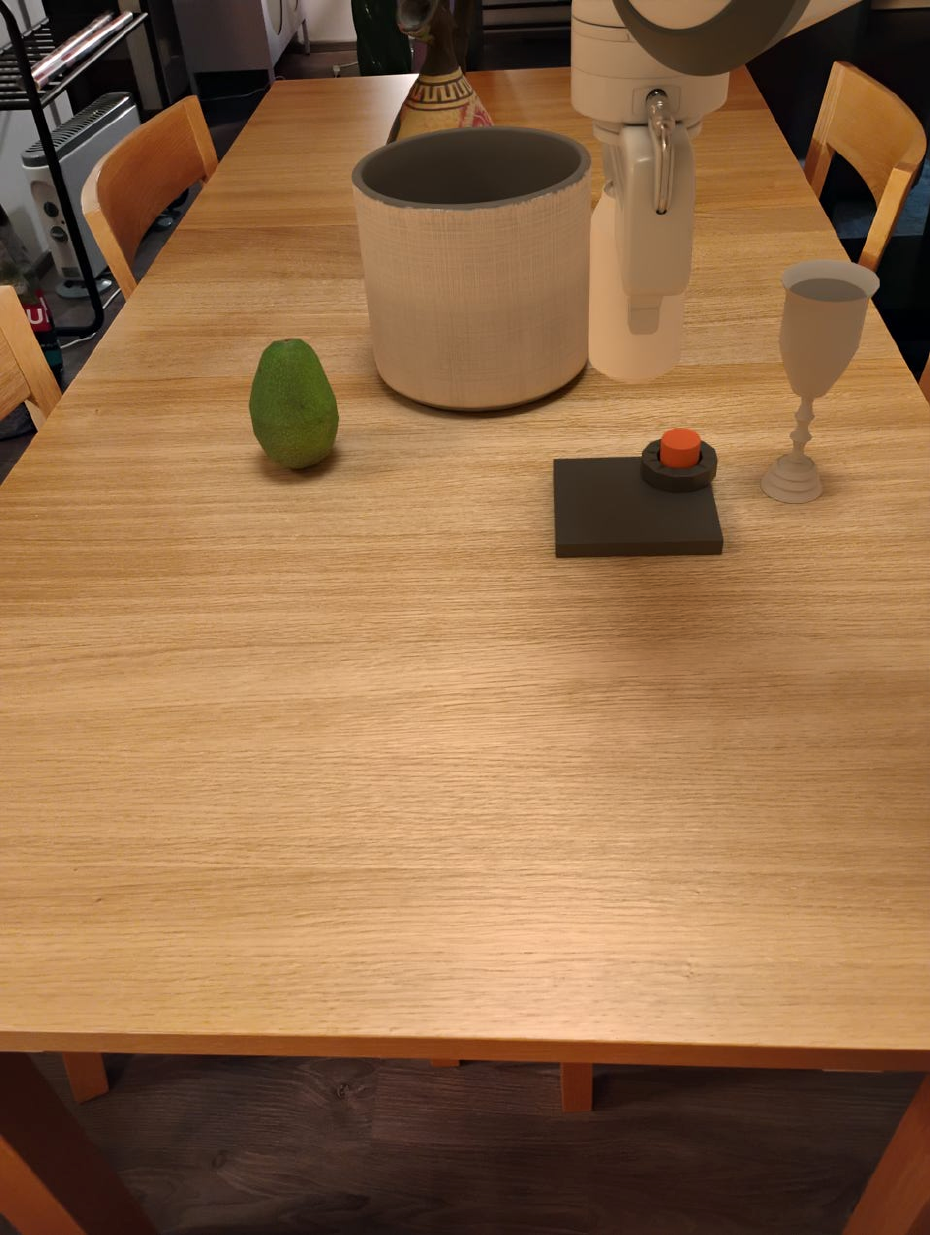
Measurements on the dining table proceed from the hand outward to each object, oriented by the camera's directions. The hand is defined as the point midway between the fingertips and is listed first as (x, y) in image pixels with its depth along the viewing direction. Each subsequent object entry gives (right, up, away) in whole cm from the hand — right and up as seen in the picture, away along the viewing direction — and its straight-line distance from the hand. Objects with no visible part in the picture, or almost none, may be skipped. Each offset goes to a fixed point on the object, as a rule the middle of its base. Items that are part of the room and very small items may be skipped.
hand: (637, 302), depth 65 cm
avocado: (-26, -6, +27) cm, 38 cm away
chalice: (+16, -10, +19) cm, 27 cm away
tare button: (+7, -7, +18) cm, 21 cm away
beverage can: (0, -4, +3) cm, 5 cm away
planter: (-9, +5, +38) cm, 40 cm away
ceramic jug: (-13, +27, +62) cm, 69 cm away
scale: (+3, -12, +18) cm, 21 cm away
